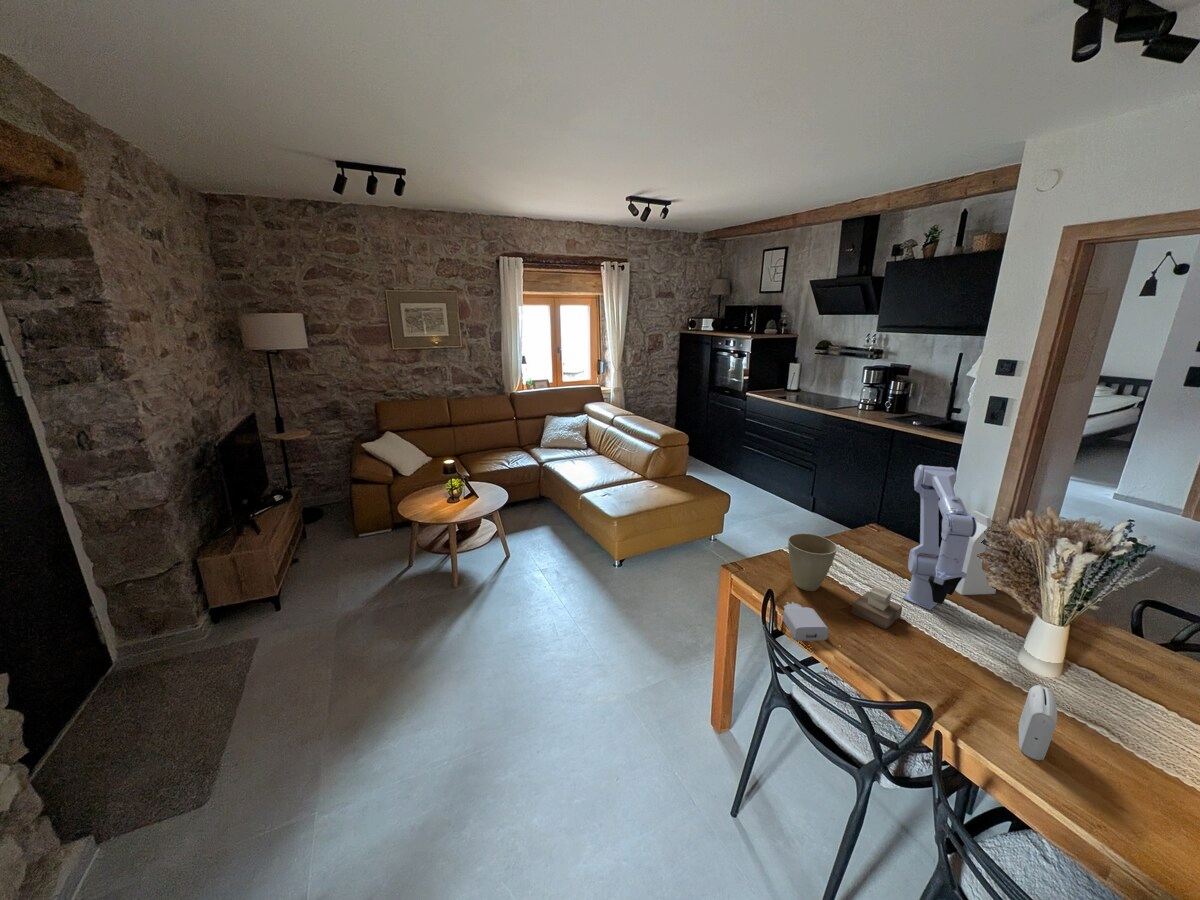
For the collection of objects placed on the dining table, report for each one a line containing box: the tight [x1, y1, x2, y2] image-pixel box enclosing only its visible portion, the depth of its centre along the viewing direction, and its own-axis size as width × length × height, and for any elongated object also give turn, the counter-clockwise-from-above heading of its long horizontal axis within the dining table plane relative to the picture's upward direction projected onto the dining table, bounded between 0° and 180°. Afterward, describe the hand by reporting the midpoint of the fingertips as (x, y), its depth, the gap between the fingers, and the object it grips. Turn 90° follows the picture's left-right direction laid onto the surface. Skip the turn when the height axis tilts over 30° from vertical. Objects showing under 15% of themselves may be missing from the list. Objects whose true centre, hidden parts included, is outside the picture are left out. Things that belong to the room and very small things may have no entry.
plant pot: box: [787, 532, 838, 592], centre depth 155 cm, size 15×15×16 cm
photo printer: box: [1018, 684, 1058, 761], centre depth 98 cm, size 10×4×12 cm, turn 140°
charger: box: [782, 601, 829, 642], centre depth 138 cm, size 5×9×15 cm
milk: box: [954, 509, 997, 596], centre depth 154 cm, size 12×12×26 cm
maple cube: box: [868, 585, 893, 611], centre depth 140 cm, size 4×4×4 cm
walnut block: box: [850, 590, 903, 630], centre depth 142 cm, size 10×10×4 cm
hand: (942, 597), depth 132 cm, fingers open, 7 cm apart
